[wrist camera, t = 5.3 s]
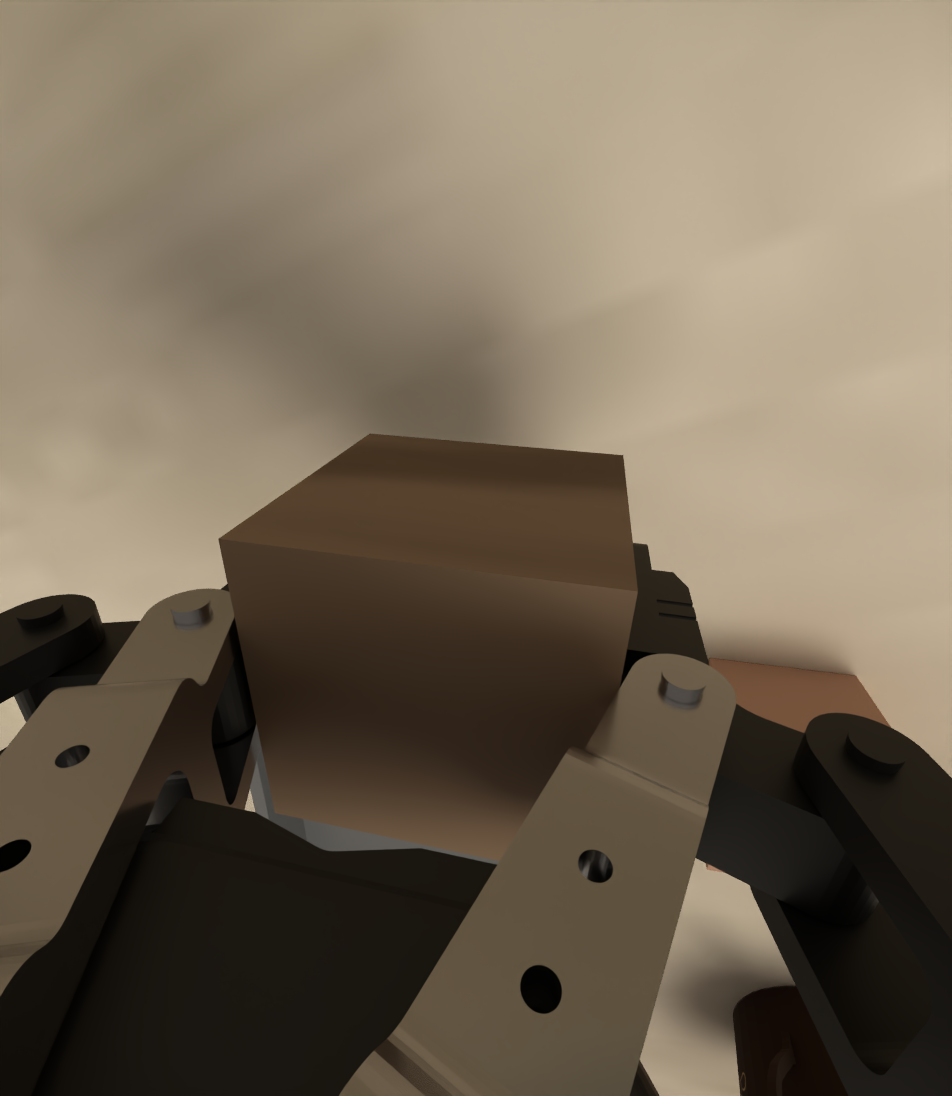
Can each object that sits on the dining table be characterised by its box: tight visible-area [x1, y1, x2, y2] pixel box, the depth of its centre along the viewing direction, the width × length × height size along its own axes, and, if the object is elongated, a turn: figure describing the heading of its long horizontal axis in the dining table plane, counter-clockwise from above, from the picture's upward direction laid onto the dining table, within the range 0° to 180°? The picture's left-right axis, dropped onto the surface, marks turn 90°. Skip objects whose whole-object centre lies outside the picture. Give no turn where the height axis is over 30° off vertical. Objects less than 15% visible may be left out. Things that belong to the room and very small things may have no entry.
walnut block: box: [219, 434, 638, 861], centre depth 10 cm, size 5×5×5 cm
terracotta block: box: [706, 658, 890, 873], centre depth 19 cm, size 5×5×5 cm
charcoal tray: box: [250, 746, 499, 864], centre depth 25 cm, size 17×13×3 cm
